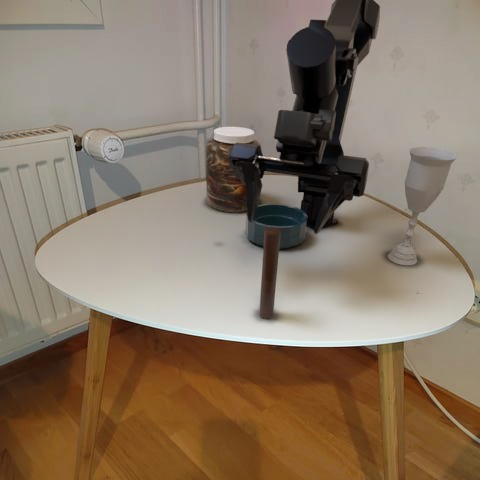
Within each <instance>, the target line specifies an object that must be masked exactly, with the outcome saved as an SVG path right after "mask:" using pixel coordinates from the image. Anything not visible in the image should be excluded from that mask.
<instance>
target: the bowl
mask: <svg viewBox="0 0 480 480" xmlns="http://www.w3.org/2000/svg"><path fill="white" fill-rule="evenodd" d="M307 219H308V216H307V215H306V213H305V212H304V211H302V210H301V209H300V207H299V208H298V207H296V206H294V205H290V204H284V203H283V204H281V203H263V204H259V205H258V206H257V209H256V213H255V216H254V219H253V221H252V223H250V222H249V221H248V214H247V213H246V214H245V235H246V239H248V240H249V241H251V242H252V243H254V244H256V245H257V246H260V247H263V248H264V233H265V229H266V228H268V227H276V228H279V229H280V230H281V234H280V245H279V250H281V249H282V250H284V249H289V248H292V247H295V246H298V245H300V244H302V243H303V242H304V241H305V238H306V235H307V234H306V233H307V226H308V225H307Z"/></svg>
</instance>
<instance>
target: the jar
mask: <svg viewBox="0 0 480 480" xmlns="http://www.w3.org/2000/svg"><path fill="white" fill-rule="evenodd" d="M237 142H238V143H246V144H254V145H260V147H261V148H262V144H261V142H260V141H259V140H257V139H256V138H255V131H254V130H253V129H251V128H247V127H243V126H221V127H217V128H214V130H213V137H212V138H210V139H208V140H207V141H206V146H205V147H206V148H205V173H206V175H205V176H206V177H205V178H206V183H205V184H206V203H207V205H208V206H209V207H211V208H212V209H214V210H217V211H220V212H225V213H247V196H246V186H245V185H244V184H243V183H242V181H241V180H240V179H238V178H236V176H235V174H234V172H233V170H232V168H231V165H230V163H229V161H228V159H227V158H228V155H229V151H230V148H231V147H232V146H233V145H234V144H235V143H237ZM259 203H260V200H259V201H258V205H260V204H259ZM258 205H257V206H258Z"/></svg>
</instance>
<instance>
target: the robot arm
mask: <svg viewBox="0 0 480 480" xmlns="http://www.w3.org/2000/svg"><path fill="white" fill-rule="evenodd" d="M380 18H381V6H380V4H379V3H377V2H376V1H375V0H334V1H333V3H331V7H330V12H329V15H328V18H327V19H310V20H309V23H308V26H307V27H304V28H302V29H300V30H298V31H296V33H294V35H292V36H291V38H290V39H289V40H288V41H287V44H286V51H285V52H286V58H287V64H288V72H289V78H290V86H291V92H292V94H293V95H295V99H294V101H293V105H292V110H290V109H279V110H278V112H277V118H276V123H275V128H274V135H273V139H274V140H277V142H276V145H275V149H276V152H277V153H279V157H273V156H265V155H264V154H263V151H262V146H261V147H260V145H254V144H246V143H238V142H237V143H235V144H234V145H233V146H232V147H231V148H230V151H229V155H228V158H227V159H228V161H229V163H230V165H231V168H232V170H233V172H234V174H235V176H236V178H238V179H240V180H241V181H242V183H243V184H244V185H245V186H246V196H247V211H246V214H248V221H249V222H250V223H252V221H253V219H254V216H255V213H256V209H257V205H258V201H259V202H260V197H261V193H262V192H261V191H262V190H263V183H262V179H263V178H264V175H265V172H267V173H273V174H281V175H289V176H296V177H297V193H303V194H302V199H301V201H300V207H299V209H301V210H302V211H304V212H305V213H306V215H307V216H308V219H307V226H308V227H309V228H311V229H313V233H314V235H317V234H319V232H320V231H321V230H322V228H325V227H326V228H327V227H329V226H334V225H337V224H339V220H338V219H337V218H335V217H334V216H335V211H336V210H337V209H338V208H339V207H340V206H341V205H342V204H343V203H344V202H345V201H347V202H351V201H353V198H354V197H356V198H357V197H358V198H360V197H363V196H364V195H365V191H366V187H367V182H368V176H369V168H370V162H369V160H368V159H367V158H366V157H361V156H351V155H345V153H344V150H343V147H342V144H341V141H342V137H343V132H344V127H345V123H346V118H347V114H348V109H349V106H350V100H351V96H352V91H353V87H354V83H355V78H356V73H357V71H358V70H357V69H358V66H359V65H360V64H361V63H362V62H363V60H364V59H365V58H367V56H368V55H369V54H370V52H371V51H370V50H371V46H372V42H373V40H376V39H377V35H378V31H379V26H380Z"/></svg>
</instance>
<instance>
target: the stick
mask: <svg viewBox="0 0 480 480" xmlns="http://www.w3.org/2000/svg"><path fill="white" fill-rule="evenodd" d="M280 234H281V230H280V229H279V228H276V227H268V228H266V229H265V233H264V247H263V249H262V250H263V252H262V264H261V265H262V267H261V278H260V279H261V280H260V297H259V308H258V309H259V311H258V315H259V317H260V318H262V319H264V320H269V319H272V318H273V317H274V311H275V301H276V300H275V298H276V288H277V278H278V277H277V276H278V267H279V257H280V255H279V254H280V249H279V245H280Z"/></svg>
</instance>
